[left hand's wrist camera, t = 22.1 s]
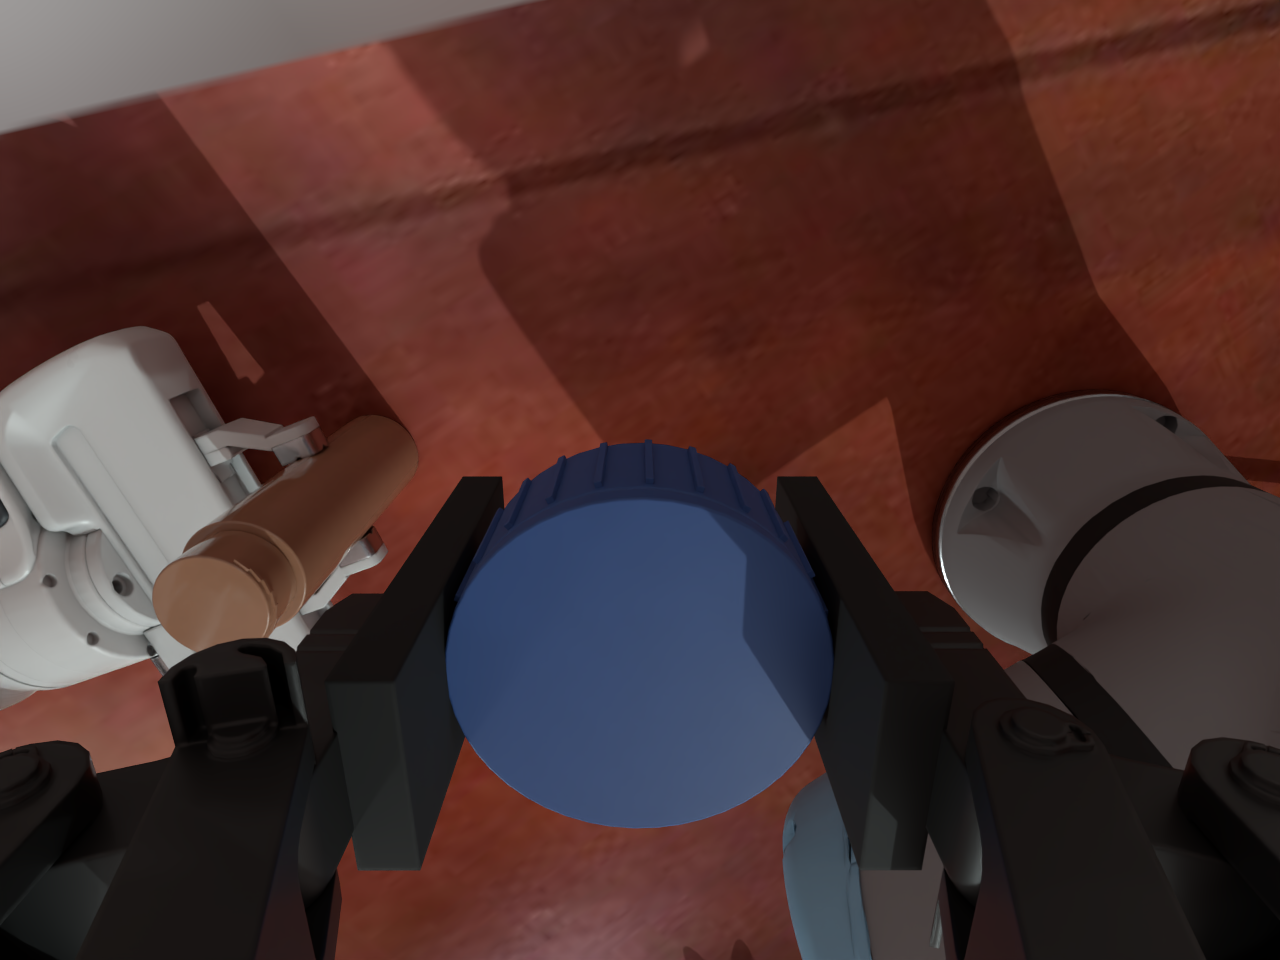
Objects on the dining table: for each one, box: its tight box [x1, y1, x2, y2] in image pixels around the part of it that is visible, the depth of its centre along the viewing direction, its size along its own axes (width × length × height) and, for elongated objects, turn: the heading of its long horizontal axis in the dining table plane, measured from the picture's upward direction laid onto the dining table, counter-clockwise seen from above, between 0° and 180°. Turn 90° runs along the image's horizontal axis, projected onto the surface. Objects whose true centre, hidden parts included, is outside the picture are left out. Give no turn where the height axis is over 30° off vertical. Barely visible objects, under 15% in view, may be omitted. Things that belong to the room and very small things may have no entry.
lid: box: [445, 440, 834, 828], centre depth 11 cm, size 6×6×2 cm
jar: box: [152, 415, 418, 652], centre depth 32 cm, size 5×5×17 cm
